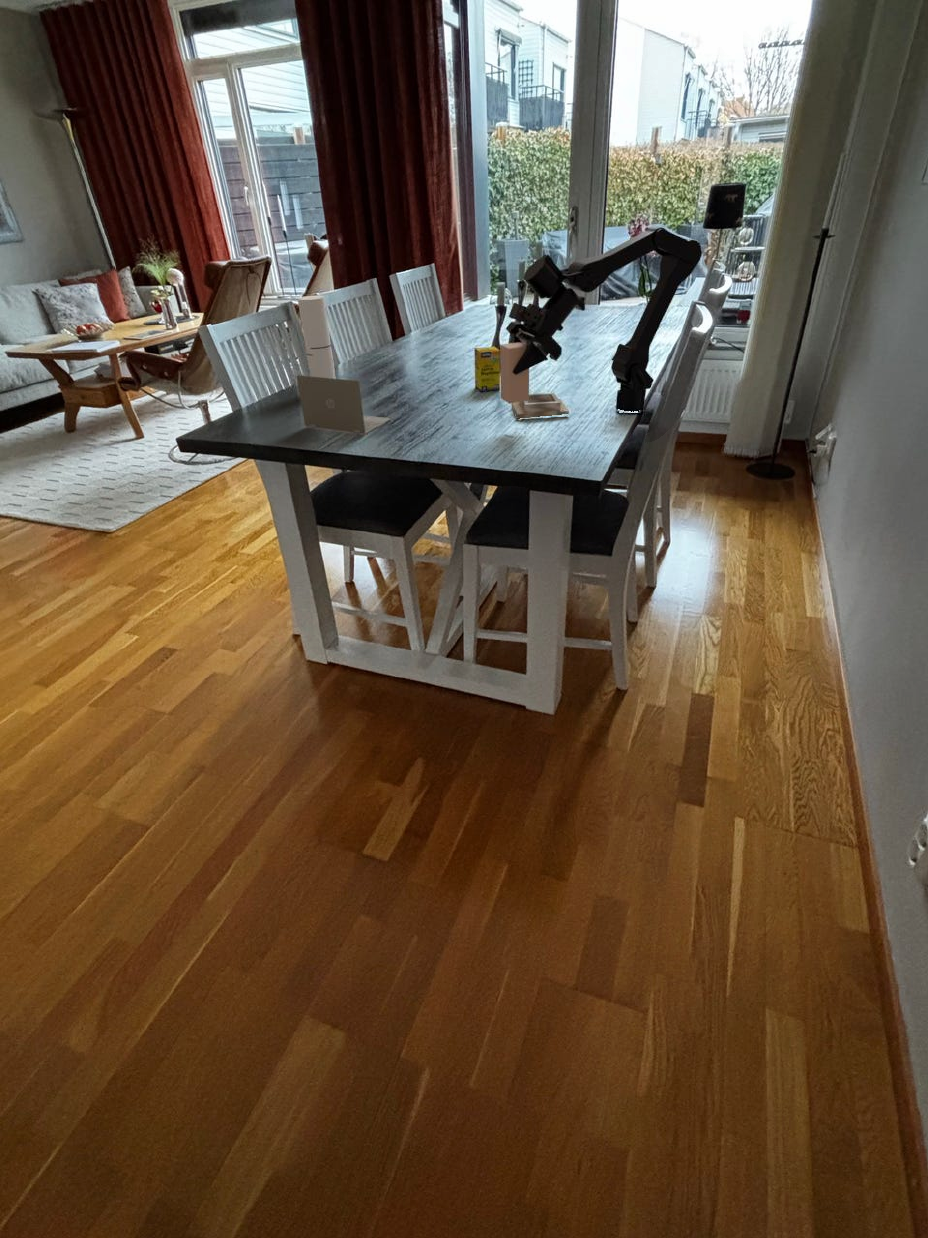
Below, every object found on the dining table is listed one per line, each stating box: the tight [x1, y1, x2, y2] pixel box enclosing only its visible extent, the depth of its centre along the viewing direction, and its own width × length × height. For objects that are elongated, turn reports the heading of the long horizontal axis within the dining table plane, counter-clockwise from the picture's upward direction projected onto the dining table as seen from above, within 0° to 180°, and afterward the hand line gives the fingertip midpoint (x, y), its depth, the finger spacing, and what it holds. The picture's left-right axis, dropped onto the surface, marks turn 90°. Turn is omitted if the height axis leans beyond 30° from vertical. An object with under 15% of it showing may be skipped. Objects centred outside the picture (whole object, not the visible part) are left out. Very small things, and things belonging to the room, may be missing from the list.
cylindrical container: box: [297, 295, 337, 379], centre depth 182 cm, size 7×7×25 cm
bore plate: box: [511, 392, 570, 420], centre depth 163 cm, size 13×11×4 cm
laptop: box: [296, 374, 392, 436], centre depth 159 cm, size 18×12×13 cm
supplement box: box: [474, 346, 501, 393], centre depth 181 cm, size 6×6×11 cm
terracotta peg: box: [499, 342, 530, 404], centre depth 147 cm, size 5×5×12 cm
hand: (509, 370), depth 147 cm, fingers closed on terracotta peg, 5 cm apart
